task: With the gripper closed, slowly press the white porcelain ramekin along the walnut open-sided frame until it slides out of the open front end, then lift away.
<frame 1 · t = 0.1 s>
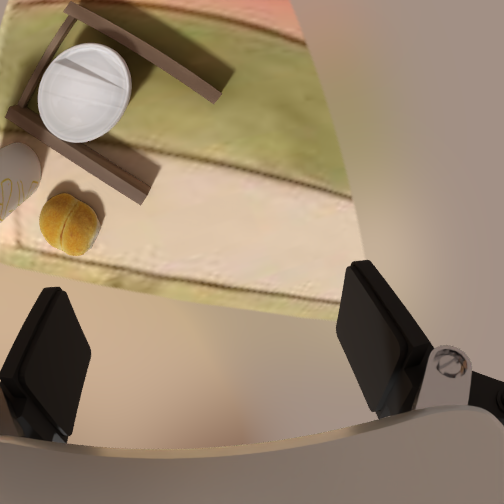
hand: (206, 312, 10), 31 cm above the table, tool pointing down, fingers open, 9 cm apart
cup: (18, 170, 35), on the table
bread roll: (73, 220, 40), on the table
walnut open-sided frame: (107, 98, 33), on the table
ramekin: (96, 90, 32), on the table
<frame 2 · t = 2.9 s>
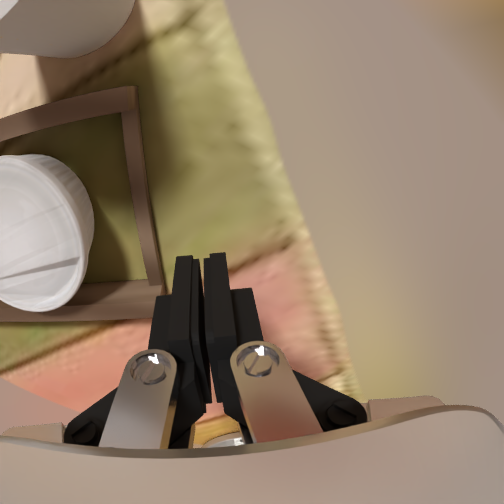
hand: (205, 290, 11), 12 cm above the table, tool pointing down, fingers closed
cup: (80, 5, 14), on the table
walnut open-sided frame: (22, 217, 21), on the table
ramekin: (43, 212, 21), on the table
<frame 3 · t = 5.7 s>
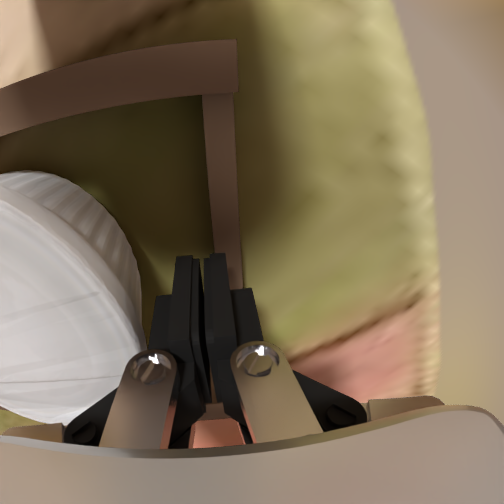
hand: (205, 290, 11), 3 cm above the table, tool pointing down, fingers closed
walnut open-sided frame: (15, 271, 13), on the table
ramekin: (48, 264, 13), on the table, touching gripper
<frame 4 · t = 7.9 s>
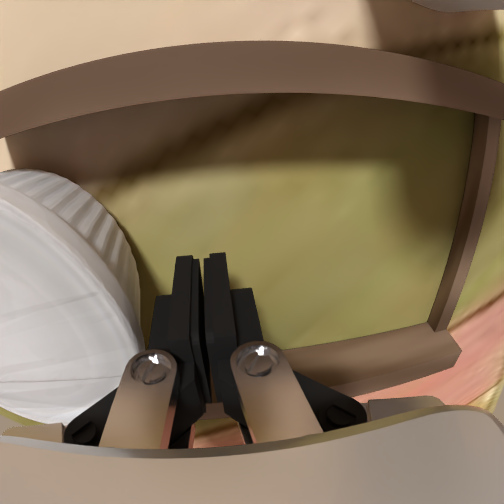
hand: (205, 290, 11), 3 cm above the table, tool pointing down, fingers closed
walnut open-sided frame: (275, 247, 14), on the table
ramekin: (47, 263, 13), on the table, touching gripper
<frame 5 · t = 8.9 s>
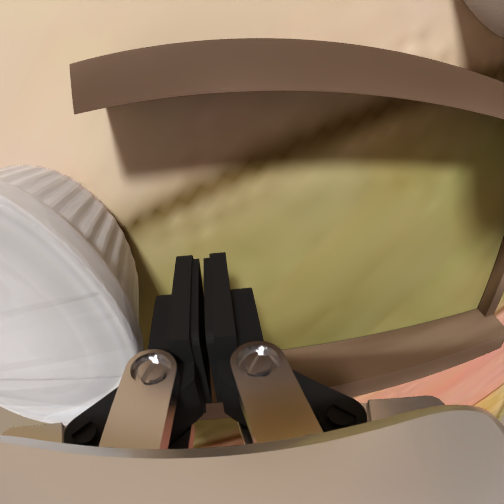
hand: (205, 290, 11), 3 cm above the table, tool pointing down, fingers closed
walnut open-sided frame: (377, 237, 14), on the table
ramekin: (45, 261, 13), on the table, touching gripper
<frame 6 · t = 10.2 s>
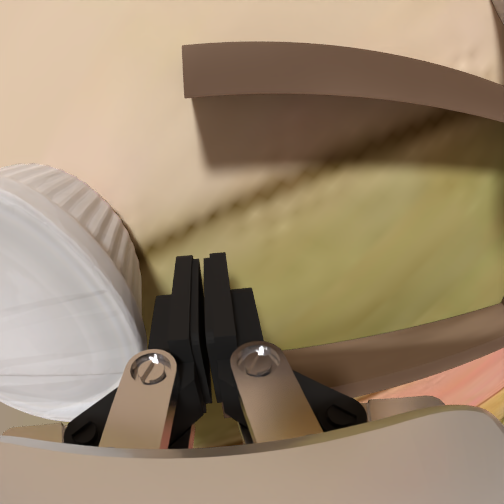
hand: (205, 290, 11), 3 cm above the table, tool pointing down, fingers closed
walnut open-sided frame: (428, 234, 15), on the table
ramekin: (49, 258, 13), on the table
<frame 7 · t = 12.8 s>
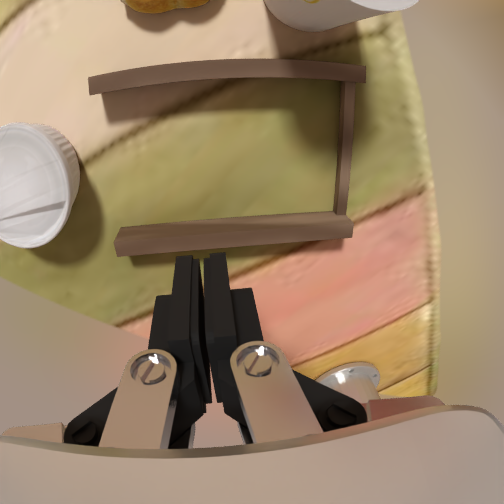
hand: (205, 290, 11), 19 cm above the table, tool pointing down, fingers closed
walnut open-sided frame: (230, 150, 28), on the table
ramekin: (40, 171, 26), on the table
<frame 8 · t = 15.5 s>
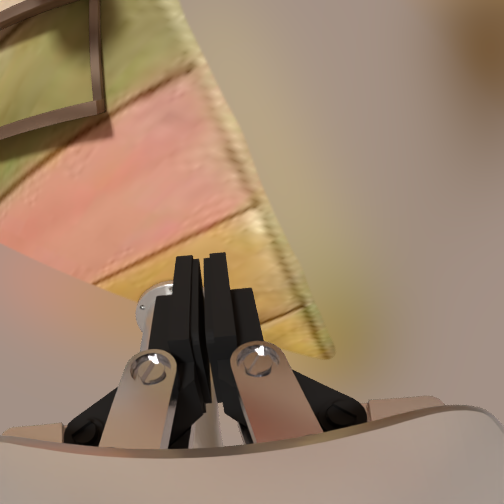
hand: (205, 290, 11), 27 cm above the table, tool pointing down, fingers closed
walnut open-sided frame: (19, 69, 26), on the table
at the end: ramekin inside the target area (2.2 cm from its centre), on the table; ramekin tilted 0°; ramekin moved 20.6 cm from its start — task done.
